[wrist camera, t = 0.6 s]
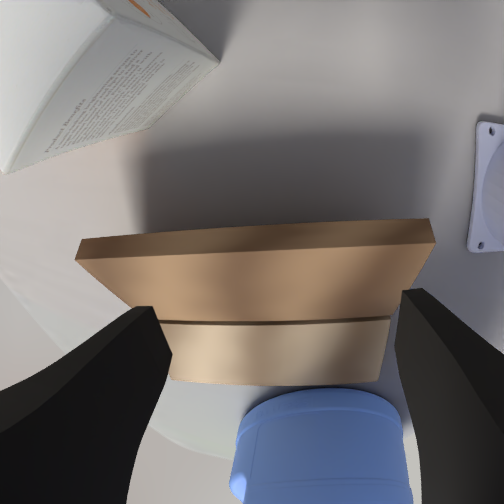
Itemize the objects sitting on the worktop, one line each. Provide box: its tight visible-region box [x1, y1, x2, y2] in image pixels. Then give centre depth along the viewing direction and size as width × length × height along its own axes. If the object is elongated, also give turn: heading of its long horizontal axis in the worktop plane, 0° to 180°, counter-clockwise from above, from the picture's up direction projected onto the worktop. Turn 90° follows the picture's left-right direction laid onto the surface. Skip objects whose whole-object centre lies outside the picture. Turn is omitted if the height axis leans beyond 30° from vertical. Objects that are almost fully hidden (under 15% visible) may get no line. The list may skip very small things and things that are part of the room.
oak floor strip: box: [159, 315, 391, 386], centre depth 21 cm, size 16×6×1 cm, turn 97°
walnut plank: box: [75, 218, 436, 321], centre depth 16 cm, size 16×8×1 cm
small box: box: [0, 0, 220, 175], centre depth 9 cm, size 8×6×10 cm
